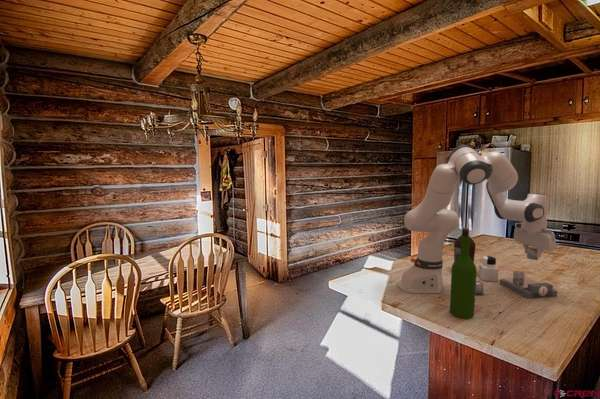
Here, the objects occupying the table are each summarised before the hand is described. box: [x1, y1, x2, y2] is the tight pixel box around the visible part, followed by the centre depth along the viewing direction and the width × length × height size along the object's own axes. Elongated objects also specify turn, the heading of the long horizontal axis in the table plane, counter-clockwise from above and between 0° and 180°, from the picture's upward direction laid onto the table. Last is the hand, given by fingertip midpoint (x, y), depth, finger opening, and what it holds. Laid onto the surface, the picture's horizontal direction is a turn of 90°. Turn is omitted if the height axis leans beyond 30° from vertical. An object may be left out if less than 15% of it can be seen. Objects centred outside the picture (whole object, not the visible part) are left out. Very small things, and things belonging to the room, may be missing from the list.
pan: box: [502, 276, 540, 289], centre depth 155 cm, size 13×12×1 cm
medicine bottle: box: [478, 255, 499, 283], centre depth 168 cm, size 7×7×12 cm
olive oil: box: [453, 227, 476, 264], centre depth 178 cm, size 11×11×25 cm
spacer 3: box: [526, 246, 539, 261], centre depth 153 cm, size 4×4×5 cm
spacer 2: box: [512, 270, 526, 284], centre depth 154 cm, size 4×4×5 cm
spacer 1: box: [475, 280, 485, 296], centre depth 150 cm, size 4×4×5 cm
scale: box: [499, 278, 558, 299], centre depth 153 cm, size 15×18×6 cm
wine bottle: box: [449, 235, 478, 320], centre depth 129 cm, size 9×9×32 cm
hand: (532, 255), depth 153 cm, fingers closed on spacer 3, 4 cm apart
